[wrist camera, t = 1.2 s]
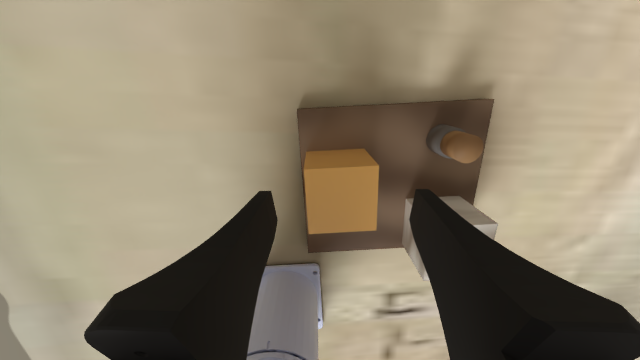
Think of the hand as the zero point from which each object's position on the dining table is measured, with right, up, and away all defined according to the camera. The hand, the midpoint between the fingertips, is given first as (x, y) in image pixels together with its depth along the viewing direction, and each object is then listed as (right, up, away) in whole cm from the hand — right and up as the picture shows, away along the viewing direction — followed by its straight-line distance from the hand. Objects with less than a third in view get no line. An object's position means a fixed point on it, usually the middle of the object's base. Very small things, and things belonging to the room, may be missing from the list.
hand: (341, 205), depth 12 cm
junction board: (+5, +1, +10) cm, 12 cm away
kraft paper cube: (0, +1, +9) cm, 9 cm away
